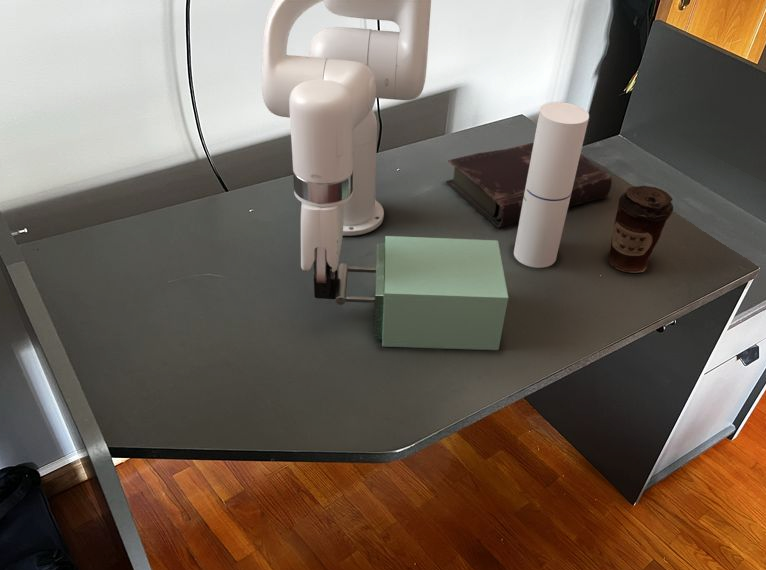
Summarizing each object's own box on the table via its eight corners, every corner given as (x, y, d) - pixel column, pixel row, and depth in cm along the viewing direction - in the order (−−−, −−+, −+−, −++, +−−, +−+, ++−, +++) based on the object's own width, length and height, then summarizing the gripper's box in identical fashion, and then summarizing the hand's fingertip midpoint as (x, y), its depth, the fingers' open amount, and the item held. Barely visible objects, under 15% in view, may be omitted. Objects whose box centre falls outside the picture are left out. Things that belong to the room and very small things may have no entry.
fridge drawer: (334, 337, 104) (334, 293, 98) (339, 284, 113) (339, 241, 108) (483, 342, 105) (490, 299, 100) (475, 289, 114) (482, 247, 109)
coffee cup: (642, 285, 119) (665, 216, 110) (594, 267, 122) (613, 198, 113) (659, 260, 125) (682, 192, 116) (613, 243, 128) (632, 175, 119)
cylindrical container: (529, 271, 120) (558, 127, 103) (505, 248, 124) (530, 106, 108) (564, 261, 123) (599, 119, 106) (540, 239, 127) (569, 99, 110)
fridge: (382, 346, 104) (384, 293, 98) (383, 287, 114) (385, 235, 108) (498, 350, 105) (508, 297, 99) (489, 291, 115) (498, 240, 109)
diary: (608, 200, 138) (615, 176, 135) (500, 231, 128) (504, 206, 125) (547, 156, 150) (552, 133, 146) (443, 182, 140) (445, 157, 136)
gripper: (301, 152, 100) (306, 263, 112) (285, 211, 88) (292, 327, 101) (357, 156, 100) (356, 266, 112) (347, 215, 89) (347, 330, 101)
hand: (326, 295), depth 106 cm, fingers closed
